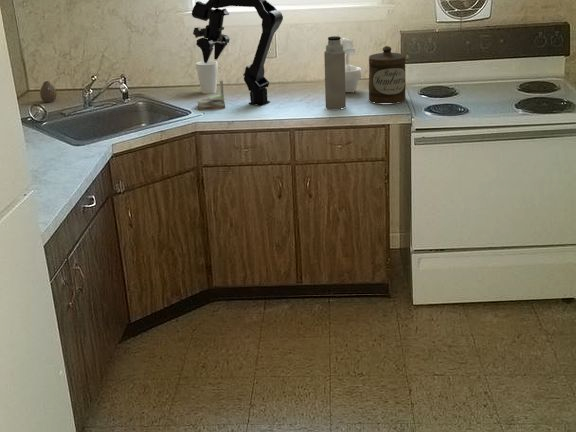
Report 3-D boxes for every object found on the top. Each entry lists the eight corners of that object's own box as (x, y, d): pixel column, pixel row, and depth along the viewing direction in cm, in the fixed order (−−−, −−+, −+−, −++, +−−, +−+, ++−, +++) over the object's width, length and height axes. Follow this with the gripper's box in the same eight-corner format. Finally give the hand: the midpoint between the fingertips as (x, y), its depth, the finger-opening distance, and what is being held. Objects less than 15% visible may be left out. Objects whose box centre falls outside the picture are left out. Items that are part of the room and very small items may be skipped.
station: (224, 103, 336) (223, 96, 335) (225, 108, 328) (224, 101, 327) (198, 105, 335) (197, 98, 334) (198, 110, 327) (197, 103, 326)
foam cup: (218, 94, 352) (216, 64, 347) (197, 94, 352) (194, 65, 347) (220, 89, 361) (218, 60, 356) (199, 89, 361) (197, 60, 356)
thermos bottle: (331, 104, 327) (329, 34, 317) (349, 106, 323) (348, 35, 313) (322, 108, 321) (320, 38, 310) (340, 110, 317) (338, 39, 307)
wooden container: (374, 106, 321) (374, 51, 313) (364, 97, 335) (364, 44, 327) (410, 103, 324) (411, 48, 316) (398, 94, 337) (399, 41, 329)
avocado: (49, 99, 357) (46, 79, 353) (61, 100, 353) (58, 80, 350) (38, 102, 351) (34, 82, 348) (49, 104, 348) (46, 84, 345)
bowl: (212, 102, 334) (212, 97, 333) (212, 106, 329) (212, 101, 328) (197, 103, 334) (197, 98, 333) (198, 107, 328) (197, 102, 327)
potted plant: (332, 89, 351) (331, 31, 342) (359, 87, 352) (358, 29, 342) (336, 96, 340) (335, 36, 330) (363, 94, 340) (363, 34, 331)
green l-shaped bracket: (224, 96, 334) (222, 78, 331) (224, 99, 328) (223, 81, 325) (209, 97, 333) (208, 79, 330) (209, 100, 328) (208, 82, 325)
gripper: (209, 16, 339) (204, 53, 346) (187, 21, 323) (182, 59, 330) (232, 23, 336) (227, 59, 343) (211, 28, 320) (206, 66, 326)
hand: (210, 61), depth 335 cm, fingers open, 9 cm apart
